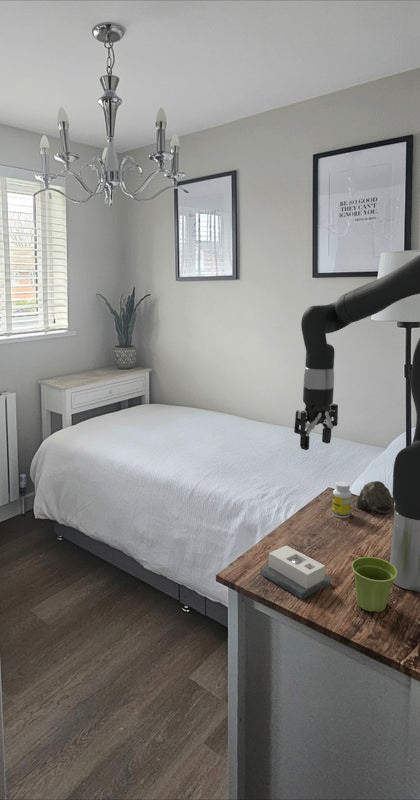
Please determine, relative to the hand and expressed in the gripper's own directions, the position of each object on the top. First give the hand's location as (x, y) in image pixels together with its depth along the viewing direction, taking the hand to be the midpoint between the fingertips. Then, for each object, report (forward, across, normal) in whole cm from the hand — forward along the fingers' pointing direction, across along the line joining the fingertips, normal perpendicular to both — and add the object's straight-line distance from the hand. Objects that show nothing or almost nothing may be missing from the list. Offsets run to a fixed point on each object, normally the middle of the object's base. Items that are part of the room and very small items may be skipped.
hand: (315, 445), depth 136 cm
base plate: (+26, +18, +11) cm, 34 cm away
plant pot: (+26, +13, +28) cm, 41 cm away
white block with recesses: (+25, +18, +11) cm, 33 cm away
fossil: (+26, -30, 0) cm, 40 cm away
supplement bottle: (+26, -18, -4) cm, 32 cm away
